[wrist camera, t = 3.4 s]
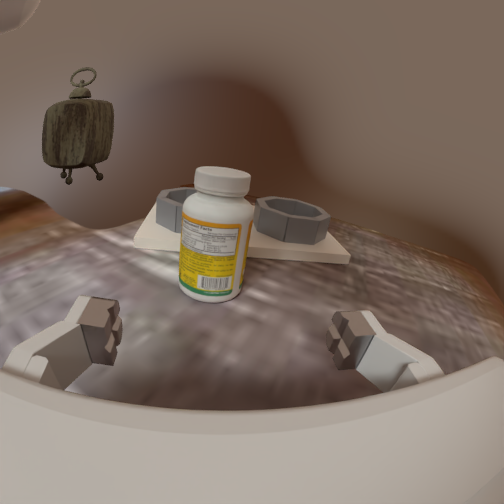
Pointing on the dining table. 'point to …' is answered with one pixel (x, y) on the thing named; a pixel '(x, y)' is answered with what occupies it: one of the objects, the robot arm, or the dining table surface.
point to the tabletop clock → (78, 131)
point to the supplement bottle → (215, 235)
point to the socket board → (262, 233)
